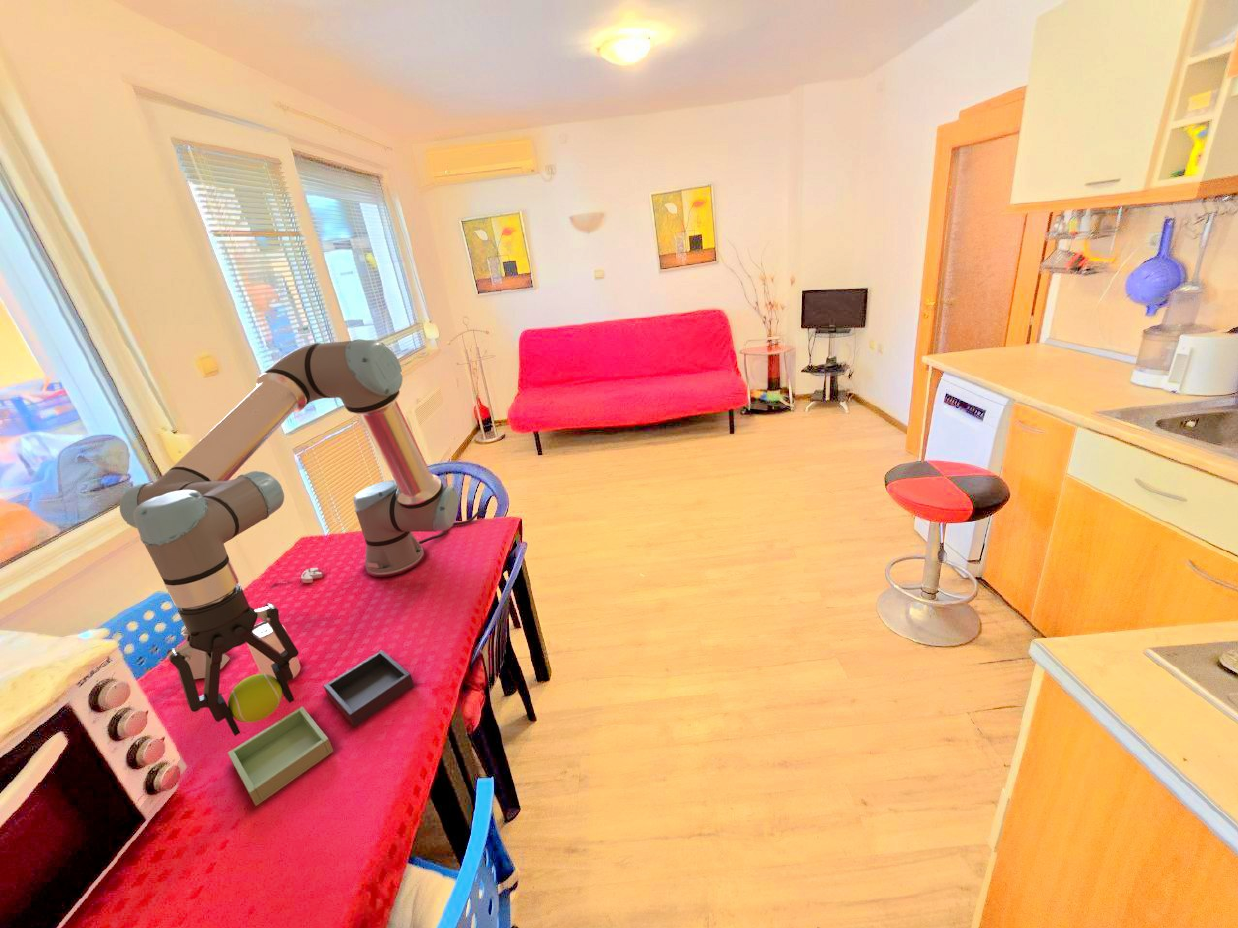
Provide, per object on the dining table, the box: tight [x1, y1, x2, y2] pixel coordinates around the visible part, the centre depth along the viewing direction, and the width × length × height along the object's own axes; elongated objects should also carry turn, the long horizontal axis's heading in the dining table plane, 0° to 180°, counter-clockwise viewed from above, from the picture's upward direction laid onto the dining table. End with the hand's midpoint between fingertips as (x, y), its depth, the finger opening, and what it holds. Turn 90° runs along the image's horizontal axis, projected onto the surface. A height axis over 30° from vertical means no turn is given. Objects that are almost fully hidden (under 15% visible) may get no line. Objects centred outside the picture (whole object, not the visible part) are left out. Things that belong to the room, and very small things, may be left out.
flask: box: [180, 628, 231, 680], centre depth 106 cm, size 7×7×10 cm
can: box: [246, 621, 302, 683], centre depth 101 cm, size 6×6×12 cm
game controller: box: [277, 567, 323, 584], centre depth 136 cm, size 6×12×3 cm, turn 121°
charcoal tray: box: [323, 649, 415, 728], centre depth 97 cm, size 12×12×3 cm
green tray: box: [227, 706, 334, 807], centre depth 84 cm, size 12×12×3 cm
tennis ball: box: [227, 673, 283, 724], centre depth 80 cm, size 7×7×7 cm
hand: (263, 713), depth 81 cm, fingers closed on tennis ball, 7 cm apart
